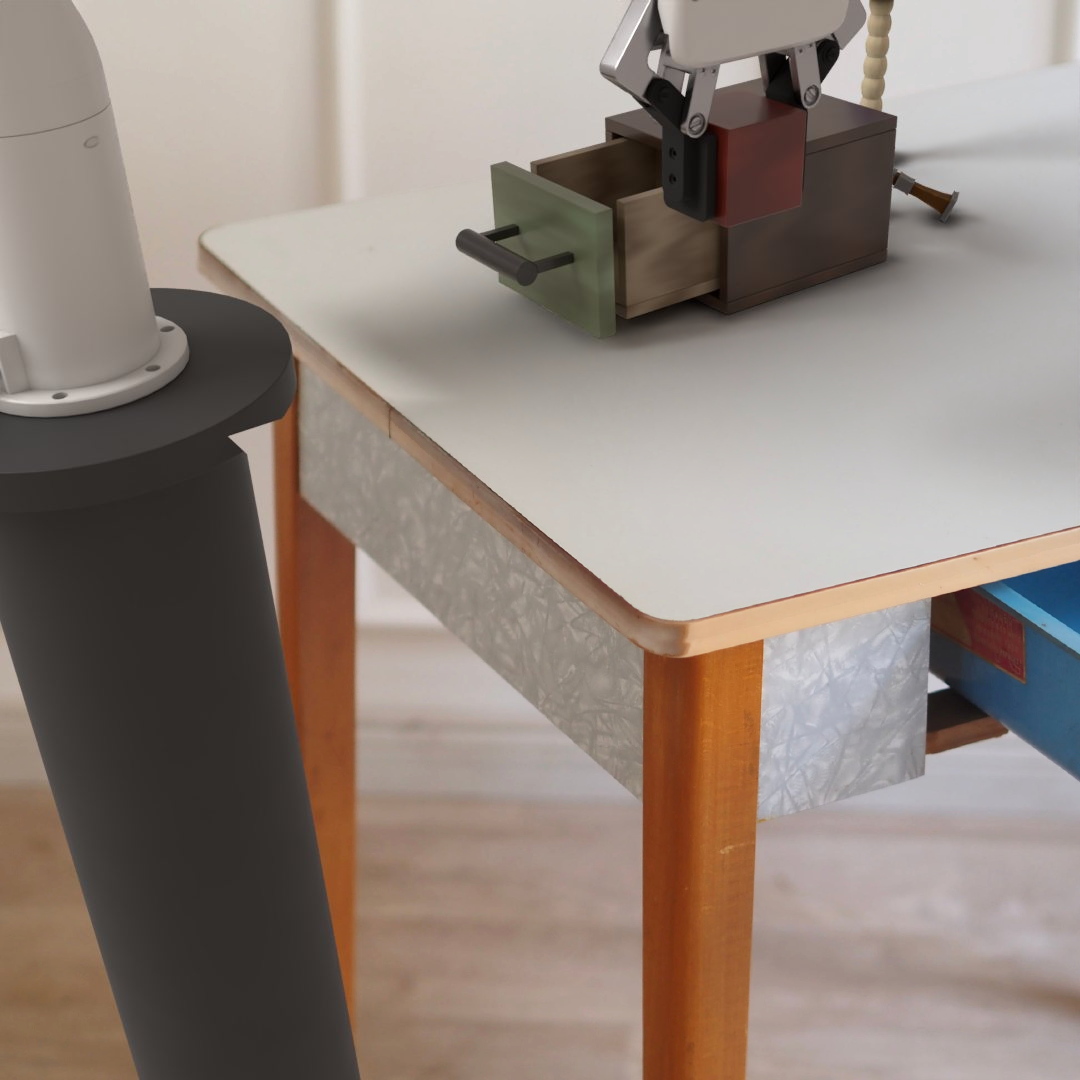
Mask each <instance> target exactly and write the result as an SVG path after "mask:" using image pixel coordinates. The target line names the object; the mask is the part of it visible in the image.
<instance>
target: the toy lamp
mask: <svg viewBox="0 0 1080 1080" xmlns="http://www.w3.org/2000/svg"><path fill="white" fill-rule="evenodd" d="M868 1H869V2H868V8H869V11H870V14H869V16H868V18H867V24H866V27H867V32H868V35H867V37H866V39H865V45H864V46H865V53H866V56H865V58H864V60H863V64H862V71H863V75H864V76H863V78H862V80H861V84H860V92H861V95H862V97H861V99H860V100H859V104H858V105H862V106H865V107H868V108H872V109H875V110H878V111H882V112H883V99H882V97H883V95H884V92H885V90H886V81H885V78H884V77H885V75H886V72H887V71H888V59H887V54H888V52H889V48H890V36H889V34H890V31H891V29H892V24H893V22H892V16H891V13H892V11H893V8H894V4H895V0H868Z"/></svg>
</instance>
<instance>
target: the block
mask: <svg viewBox="0 0 1080 1080" xmlns="http://www.w3.org/2000/svg"><path fill="white" fill-rule="evenodd" d="M805 128H806V111H805V110H802V109H799V108H796V107H793V106H790V105H787V104H784V103H781V102H778V101H775V100H772V99H769V98H766V97H763V96H760V95H757V94H754V93H751V92H748V91H746V90H739V91H735V92H731V93H727V94H723V95H719V96H715V97H714V98H713V103H712V107H711V112H710V117H709V122H708V126H707V129H706V131H707V132H710V133H712V134H715V135H717V141H718V151H717V191H716V214H715V216H714V218H713V219H711V220H710V221H713V222H715V223H717V224H719V225H721V226H724V227H726V228H728V227H731V226H735V225H738V224H741V223H745V222H748V221H752V220H755V219H758V218H762V217H765V216H769V215H772V214H775V213H779V212H782V211H785V210H789V209H792V208H796V207H799V206H801V198H802V180H803V163H804V145H805Z"/></svg>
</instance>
